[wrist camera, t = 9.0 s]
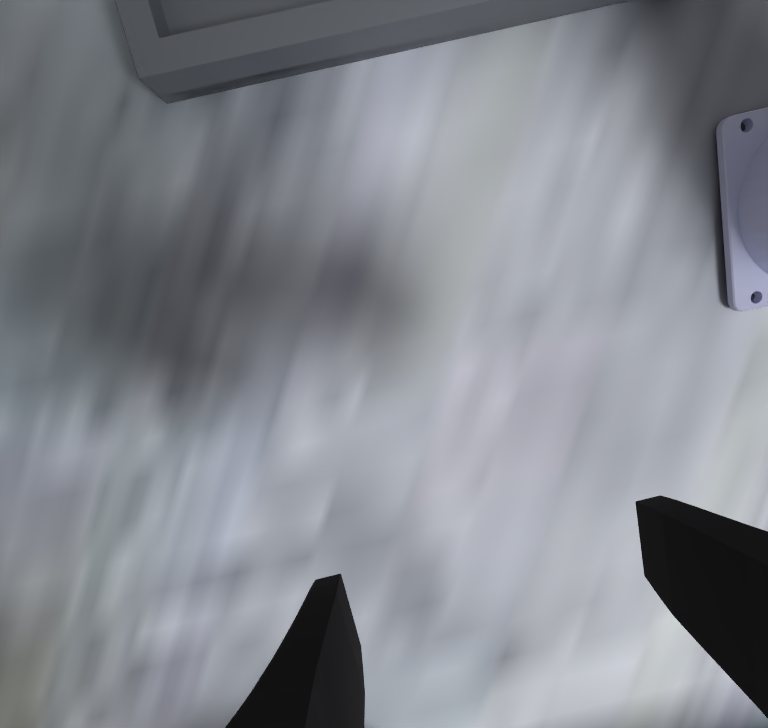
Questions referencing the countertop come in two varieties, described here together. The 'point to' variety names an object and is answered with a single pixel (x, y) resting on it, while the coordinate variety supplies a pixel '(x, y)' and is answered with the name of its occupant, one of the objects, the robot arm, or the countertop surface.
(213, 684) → the countertop surface
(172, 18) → the tray
